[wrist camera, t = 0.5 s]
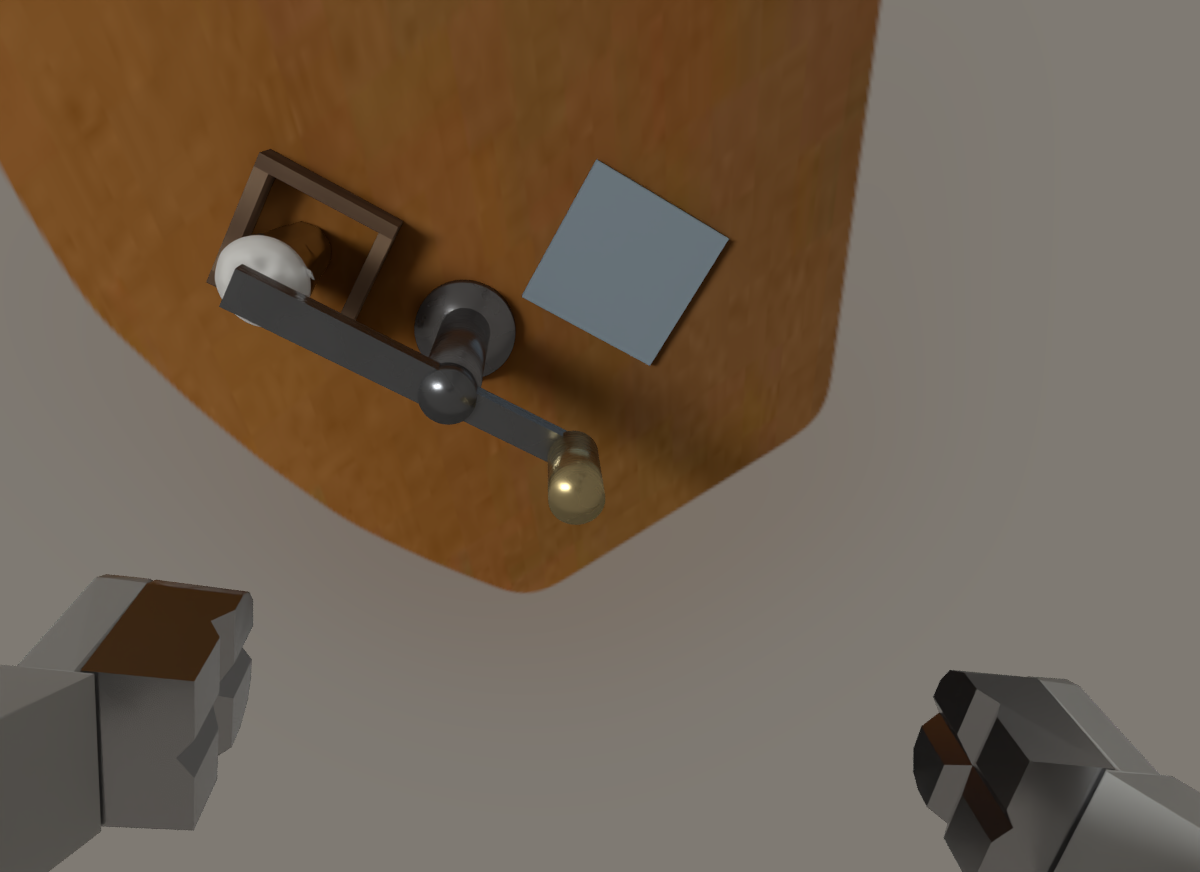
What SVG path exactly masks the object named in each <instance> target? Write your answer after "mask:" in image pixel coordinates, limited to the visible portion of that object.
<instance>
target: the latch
mask: <svg viewBox="0 0 1200 872" xmlns="http://www.w3.org/2000/svg"><path fill="white" fill-rule="evenodd" d="M219 307H221V308H223V309H225V310H227V311H230V312H232V313H234V314H236V315H238V316H240V317H242V318H244V319H246V320H248V321H250V322H252V323H254V324H256V325H258V326H260V327H262V328H264V329H267V330H269V331H271V332H273V333H275V334H277V335H279V336H281V337H283V338H285V339H287V340H289V341H291V342H293V343H295V344H297V345H299V346H302V347H304V348H306V349H308V350H310V351H312V352H314V353H316V354H318V355H320V356H322V357H324V358H326V359H328V360H330V361H332V362H334V363H337V364H339V365H341V366H343V367H345V368H347V369H349V370H351V371H353V372H355V373H357V374H359V375H361V376H363V377H365V378H367V379H369V380H372V381H374V382H376V383H378V384H380V385H382V386H384V387H386V388H388V389H390V390H392V391H394V392H396V393H398V394H400V395H402V396H404V397H406V398H409V399H411V400H413V401H415V402H417V403H419V405H420V407H421V409H422V411H423V412H424V414H425V415H426V416H427V417H429V418H430V419H431V420H433V421H435V422H437V423H441V424H456V423H459V422H461V421H464V422H467V423H469V424H471V425H473V426H475V427H477V428H479V429H481V430H483V431H485V432H487V433H489V434H491V435H493V436H495V437H497V438H499V439H501V440H503V441H506V442H508V443H510V444H512V445H514V446H516V447H518V448H520V449H522V450H524V451H526V452H528V453H530V454H532V455H534V456H536V457H538V458H540V459H542V460H544V461H547V462H548V501H549V507H550V509H551V511H552V513H553V514H554V515H555V516H556V517H557V518H558V519H559V520H561V521H563V522H565V523H568V524H575V525H578V524H584V523H587V522H590V521H592V520H593V519H595V518H596V517H597V516H598V515H599V514H600V513H601V511H602V509H603V507H604V504H605V493H604V487H603V480H602V474H601V467H600V460H599V454H598V448H597V445H596V443H595V442H594V440H593V439H592V438H591V437H590V436H589V435H587V434H585V433H583V432H580V431H566V430H564V429H562V428H560V427H558V426H556V425H554V424H552V423H550V422H548V421H546V420H544V419H542V418H540V417H538V416H536V415H534V414H532V413H530V412H528V411H526V410H524V409H522V408H520V407H518V406H516V405H514V404H512V403H510V402H508V401H506V400H504V399H502V398H500V397H498V396H496V395H494V394H492V393H490V392H488V391H486V390H484V389H482V388H480V387H478V385H477V382H476V379H475V377H474V376H473V374H472V373H471V372H470V371H469V370H468V369H467V368H465V367H464V366H462V365H460V364H457V363H452V362H445V363H439V362H437V361H435V360H433V359H431V358H429V357H427V356H425V355H423V354H421V353H419V352H417V351H415V350H413V349H411V348H409V347H407V346H405V345H403V344H401V343H399V342H397V341H395V340H393V339H391V338H389V337H387V336H385V335H383V334H381V333H379V332H377V331H375V330H373V329H371V328H369V327H367V326H365V325H363V324H361V323H359V322H357V321H355V320H353V319H351V318H349V317H347V316H345V315H343V314H341V313H339V312H337V311H335V310H333V309H331V308H329V307H327V306H325V305H323V304H321V303H319V302H317V301H315V300H313V299H311V298H309V297H307V296H305V295H303V294H302V293H300V292H298V291H296V290H294V289H292V288H290V287H288V286H286V285H284V284H282V283H280V282H278V281H276V280H274V279H272V278H270V277H268V276H266V275H264V274H262V273H260V272H258V271H256V270H254V269H252V268H250V267H248V266H246V265H244V264H241V265H240V266H238V267H237V268H235V270H234V272H233V275H232V277H231V280H230V282H229V284H228V287H227V289H226V292H225V294H224V296H223V299H222V301H221V303H220V306H219Z"/></svg>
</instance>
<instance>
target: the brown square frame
mask: <svg viewBox="0 0 1200 872" xmlns="http://www.w3.org/2000/svg"><path fill="white" fill-rule="evenodd" d="M275 178H277V179H279V180H281V181H283V182H285V183H286V184H288V185H290V186H292V187H294V188H296V189H298V190H300V191H301V192H303V193H305V194H307V195H309V196H311V197H313V198H315V199H316V200H318V201H320V202H322V203H324V204H326V205H328V206H330V207H331V208H333V209H335V210H337V211H339V212H341V213H343V214H345V215H346V216H348V217H350V218H352V219H354V220H356V221H358V222H360V223H361V224H363V225H365V226H367V227H369V228H371V229H373V230H375V231H376V232H378V233H379V234H378V236H377V238H376V240H375V242H374V244H373V246H372V248H371V250H370V253H369V255H368V257H367V259H366V261H365V263H364V265H363V267H362V269H361V272H360V274H359V276H358V278H357V280H356V282H355V284H354V286H353V288H352V291H351V293H350V295H349V297H348V299H347V301H346V303H345V305H344V307H343V310H342V312H341V314H343V315H345V316H347V317H349V318H351V319H353V320H355V321H356V319H357V317H358V314H359V312H360V310H361V308H362V306H363V304H364V302H365V300H366V298H367V296H368V294H369V292H370V290H371V287H372V285H373V283H374V281H375V279H376V277H377V275H378V273H379V271H380V269H381V267H382V265H383V263H384V260H385V258H386V256H387V254H388V252H389V250H390V248H391V246H392V244H393V242H394V240H395V238H396V236H397V234H398V231H399V229H400V227H401V225H402V223H403V221H402V220H400V219H398V218H397V217H395V216H393V215H391V214H389V213H387V212H386V211H384V210H382V209H380V208H378V207H376V206H375V205H373V204H371V203H369V202H367V201H365V200H363V199H362V198H360V197H358V196H356V195H354V194H352V193H351V192H349V191H347V190H345V189H343V188H341V187H339V186H338V185H336V184H334V183H332V182H330V181H328V180H327V179H325V178H323V177H321V176H319V175H317V174H315V173H314V172H312V171H310V170H308V169H306V168H304V167H303V166H301V165H299V164H297V163H295V162H293V161H291V160H290V159H288V158H286V157H284V156H282V155H280V154H279V153H277V152H275V151H273V150H271V149H269V150H266V151H263V152H259V155H258V157H257V160H256V162H255V165H254V167H253V170H252V172H251V174H250V177H249V179H248V182H247V184H246V187H245V189H244V191H243V194H242V196H241V199H240V201H239V204H238V206H237V209H236V211H235V213H234V216H233V218H232V221H231V223H230V226H229V228H228V231H227V233H226V235H225V238H224V240H223V243H222V245H221V248H220V250H219V252H218V255H217V257H216V260H215V262H214V265H213V267H212V270H211V272H210V274H209V277H208V279H207V283H209V284H211V285H213V286H215V287H216V283H215V270H216V265H217V261H218V258H219V255H220V253H221V252H222V250H223V249H224V248H225V247H226V246H227V245H229V244H230V243H231V242H233V241H235V240H237V239H239V238H242V237H246V236H249V235H251V234H252V232H253V229H254V227H255V224H256V222H257V220H258V217H259V215H260V213H261V210H262V208H263V205H264V203H265V201H266V198H267V196H268V194H269V191H270V189H271V186H272V184H273V182H274V179H275Z"/></svg>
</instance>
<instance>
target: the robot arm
mask: <svg viewBox="0 0 1200 872" xmlns="http://www.w3.org/2000/svg"><path fill="white" fill-rule="evenodd" d="M252 627H253V599H252V597H251V595H250V593H249V592H245V591H239V590H231V589H223V588H215V587H208V586H200V585H192V584H184V583H177V582H169V581H162V580H154V581H153V580H151V579H146V578H137V577H127V576H119V575H109V574H106V575H102V576H99V577H96V578H95V579H94V580H93V581H92V582H91V583H90V584H89V585H88V586H87V587H86V589H85V590H84V591H83V592H82V593H81V594H80V595H79V597H78V598H77V599H76V600H75V601H74V602H73V603H72V604H71V606H70V607H69V608H68V609H67V610H66V611H65V612H64V613H63V615H62V616H61V617H60V618H59V619H58V620H57V621H56V623H55V624H54V625H53V626H52V627H51V628H50V629H49V631H48V632H47V633H46V634H45V635H44V636H43V637H42V638H41V639H40V641H39V642H38V643H37V644H36V645H35V646H34V647H33V648H32V650H31V651H30V652H29V653H28V654H27V655H26V656H25V657H24V659H23V660H22V661H21V662H20V663H19V664H18V665H17V666H9V665H0V872H49V871H50V870H51V869H52V868H54V867H55V866H56V865H58V864H59V863H60V862H62V861H63V860H64V859H66V858H67V857H68V856H69V855H71V854H72V853H74V852H75V851H76V850H77V849H79V848H80V847H81V846H83V845H84V844H85V843H87V842H88V841H89V840H90V839H92V838H93V837H94V836H96V835H97V834H98V833H100V831H101V826H107V827H130V828H151V829H174V830H194V828H195V826H196V824H197V822H198V820H199V817H200V815H201V813H202V811H203V809H204V807H205V804H206V802H207V800H208V798H209V795H210V794H211V791H212V789H213V787H214V785H215V783H216V780H217V767H218V755H220V754H221V753H223V752H225V751H226V750H228V749H229V748H231V747H232V745H233V743H234V740H235V738H236V736H237V733H238V731H239V729H240V726H241V722H242V718H243V715H244V711H245V708H246V704H247V701H248V694H249V687H250V681H251V665H252V659H251V658H250V657H249V655H248V654H247V653H246V651H245V650H244V649H243V648H242V647H243V645H244V643H245V641H246V639H247V637H248V635H249V633H250V631H251V629H252ZM933 698H934V700H935V703H936V706H937V708H938V710H939V713H938V714H937V715H935V716H934V717H933V718H931V719H930V720H929V721H928V722H926V723H925V724H924V725H922V726H921V729H920V732H919V734H918V737H917V740H916V743H915V746H914V751H913V752H914V754H913V763H914V764H913V772H914V776H915V780H916V784H917V788H918V790H919V792H920V795H921V796H922V798H923V800H924V802H925V804H926V806H927V807H928V808H929V809H930V810H931V811H933V812H934V813H935V814H937V815H938V816H939V817H940V818H941V819H943V820H944V821H945V822H947V823H948V824H947V828H946V831H945V835H944V839H945V841H946V843H947V845H948V846H949V849H950V850H951V852H952V854H953V856H954V858H955V859H956V861H957V863H958V865H959V867H960V868H961V870H962V872H1200V792H1198V791H1196V790H1195V789H1193V788H1192V787H1190V786H1188V785H1186V784H1185V783H1183V782H1181V781H1180V780H1178V779H1176V778H1175V777H1173V776H1166V775H1160V774H1159V773H1158V772H1157V771H1156V770H1155V768H1154V767H1153V766H1152V765H1151V764H1150V763H1149V762H1148V761H1147V760H1146V759H1145V757H1144V756H1143V755H1142V754H1141V753H1140V752H1139V751H1138V750H1137V749H1136V748H1135V747H1134V746H1133V744H1132V743H1131V742H1130V741H1129V740H1128V739H1127V738H1126V737H1125V736H1124V734H1123V733H1122V732H1121V731H1120V730H1119V729H1118V728H1117V727H1116V726H1115V725H1114V723H1113V722H1112V721H1111V720H1110V719H1109V718H1108V717H1107V716H1106V715H1105V714H1104V713H1103V711H1102V710H1101V709H1100V708H1099V707H1098V706H1097V705H1096V704H1095V703H1094V702H1093V700H1092V699H1091V698H1090V697H1089V696H1088V695H1087V694H1086V693H1085V692H1084V691H1083V690H1082V688H1081V687H1080V686H1079V685H1077V684H1074V683H1073V682H1071V681H1069V680H1066V679H1057V678H1056V679H1055V678H1043V677H1030V676H1028V677H1020V676H1009V675H998V674H988V673H977V672H966V671H955V670H949V672H948V673H947V674H946V675H945V676H944V677H943V678H942V679H941V680H940V682H939V685H938V687H937V689H936V692H935V694H934V696H933Z"/></svg>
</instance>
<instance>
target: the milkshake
mask: <svg viewBox="0 0 1200 872" xmlns="http://www.w3.org/2000/svg"><path fill="white" fill-rule="evenodd" d="M330 262H331V243H330V241H329V240H328V239H327V237H326V236H325V235H324V233H323V232H322V231H321V229H320V228H319V227H316V226H313V225H311V224H308V223H306V222H303V221H300V222H296V223H292V224H288V225H284V226H281V227H278V228H275V229H272V230H270V231H267V232H262V233H257V234H253V235H249V236H246V237H242V238H239V239H237V240H235V241H233V242H231V243H230V244H229V245H227V246H226V247H225V248H224V249H223V250H222V252H221V253H220V255H219V258H218V261H217V265H216V270H215V283H216V287H217V289H218V292H219V294H220V296H221V298H222V299H223V296H224V294H225V292H226V289H227V287H228V284H229V282H230V280H231V277H232V275H233V272H234V270H235V268H237V267H238V266H240V265H241V264H244V265H246V266H248V267H250V268H252V269H254V270H256V271H258V272H260V273H262V274H264V275H266V276H268V277H270V278H272V279H274V280H276V281H278V282H280V283H282V284H284V285H286V286H288V287H290V288H292V289H294V290H296V291H298V292H300V293H302V294H303V295H305V296H307V297H309V298H310V296H311V294H312V292H313V290H314V288H315V286H316V284H317V283H318V281H319V279H320V278H321V276H322V275H323V273H324V271H325V270H326V268H327V267H328V265H329V264H330ZM235 315H236V314H235ZM237 316H238V315H237ZM238 317H239V318H241V319H242V320H244V321H245V322H247V323H249V324H252V325H255V326H258V325H256V324H254V323H252V322H250V321H248V320H246V319H244V318H242V317H240V316H238ZM259 327H260V326H259Z"/></svg>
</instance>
